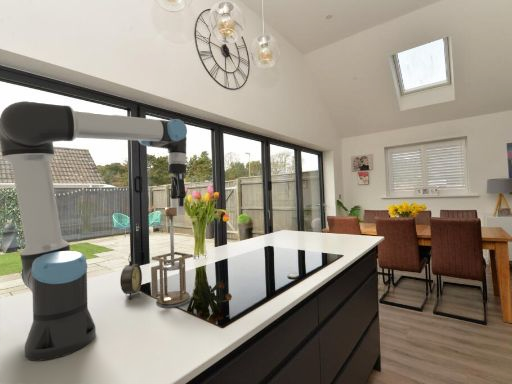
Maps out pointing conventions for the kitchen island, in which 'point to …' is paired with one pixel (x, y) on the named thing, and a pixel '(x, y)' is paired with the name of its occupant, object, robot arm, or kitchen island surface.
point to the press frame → (171, 297)
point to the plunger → (171, 240)
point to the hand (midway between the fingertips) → (177, 214)
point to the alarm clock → (131, 278)
